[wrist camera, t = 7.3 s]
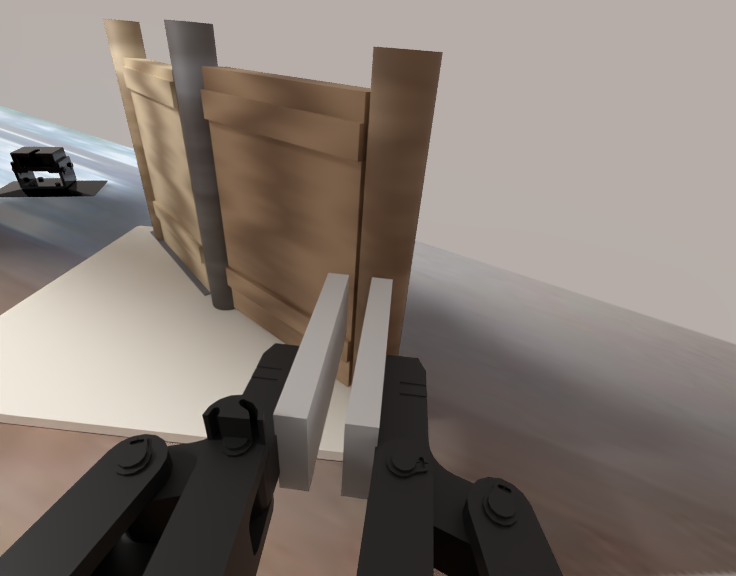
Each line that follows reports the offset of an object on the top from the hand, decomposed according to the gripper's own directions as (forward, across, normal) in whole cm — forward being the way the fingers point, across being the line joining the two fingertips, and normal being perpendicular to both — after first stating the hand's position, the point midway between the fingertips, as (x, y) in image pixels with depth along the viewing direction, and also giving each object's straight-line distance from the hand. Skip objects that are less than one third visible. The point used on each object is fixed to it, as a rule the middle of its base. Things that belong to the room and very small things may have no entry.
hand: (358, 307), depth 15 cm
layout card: (+8, -10, -7) cm, 15 cm away
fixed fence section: (+12, -13, -6) cm, 19 cm away
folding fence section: (+4, -3, -6) cm, 7 cm away
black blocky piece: (+26, -36, -7) cm, 45 cm away
